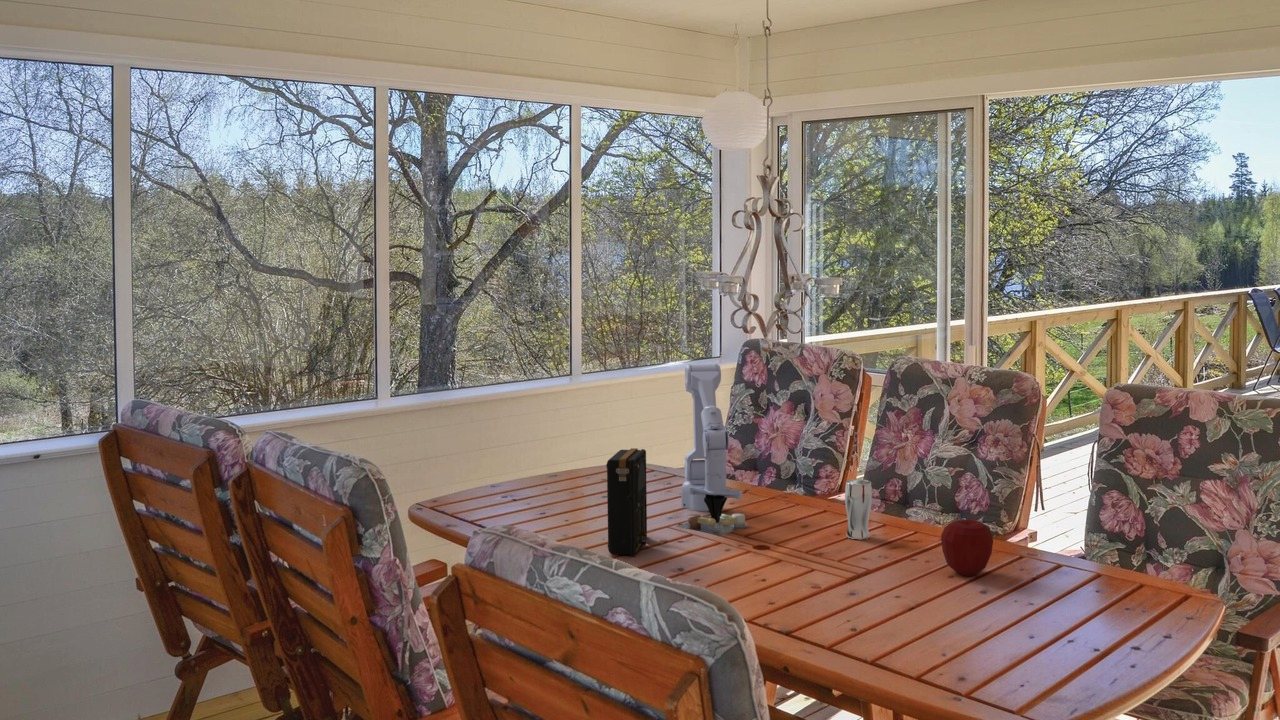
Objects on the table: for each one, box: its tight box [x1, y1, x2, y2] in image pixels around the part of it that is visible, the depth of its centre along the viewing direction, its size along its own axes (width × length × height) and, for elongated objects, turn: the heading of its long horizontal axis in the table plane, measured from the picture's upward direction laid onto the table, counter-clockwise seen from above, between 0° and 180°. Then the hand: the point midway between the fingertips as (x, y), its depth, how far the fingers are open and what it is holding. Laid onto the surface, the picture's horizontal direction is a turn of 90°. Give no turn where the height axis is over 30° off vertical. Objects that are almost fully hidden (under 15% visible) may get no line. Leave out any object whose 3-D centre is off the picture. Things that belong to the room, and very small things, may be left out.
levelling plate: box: [675, 515, 750, 537], centre depth 281 cm, size 15×14×1 cm
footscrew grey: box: [721, 513, 746, 529], centre depth 279 cm, size 9×4×3 cm, turn 139°
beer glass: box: [844, 478, 873, 541], centre depth 272 cm, size 7×7×15 cm
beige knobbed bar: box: [687, 513, 716, 528], centre depth 279 cm, size 9×4×3 cm, turn 49°
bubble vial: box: [719, 513, 732, 522], centre depth 285 cm, size 4×2×2 cm, turn 49°
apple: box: [940, 517, 994, 577], centre depth 240 cm, size 12×12×13 cm
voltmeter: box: [606, 447, 648, 557], centre depth 263 cm, size 16×9×25 cm, turn 168°
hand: (715, 522), depth 280 cm, fingers closed
